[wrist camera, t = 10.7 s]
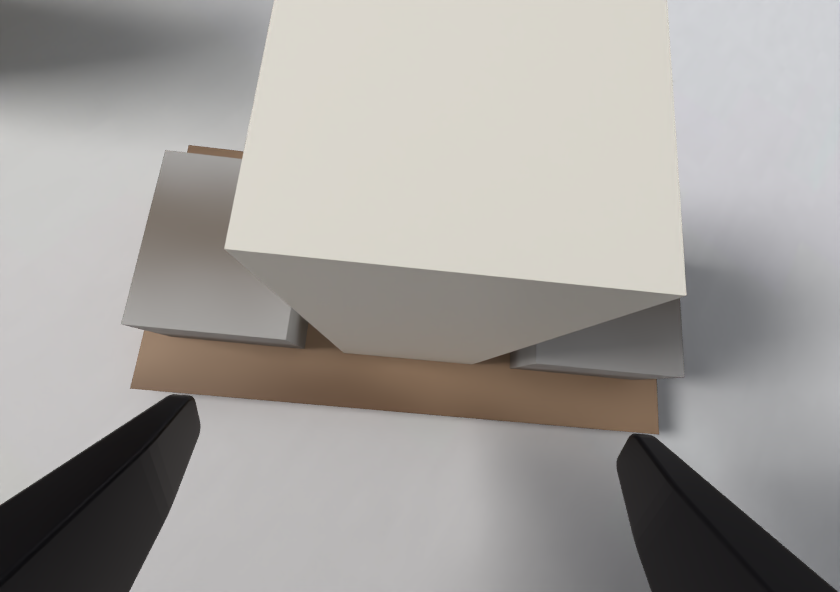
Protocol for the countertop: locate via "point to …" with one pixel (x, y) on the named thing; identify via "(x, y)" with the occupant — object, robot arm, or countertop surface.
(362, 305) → the block
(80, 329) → the countertop surface
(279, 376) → the rail board
